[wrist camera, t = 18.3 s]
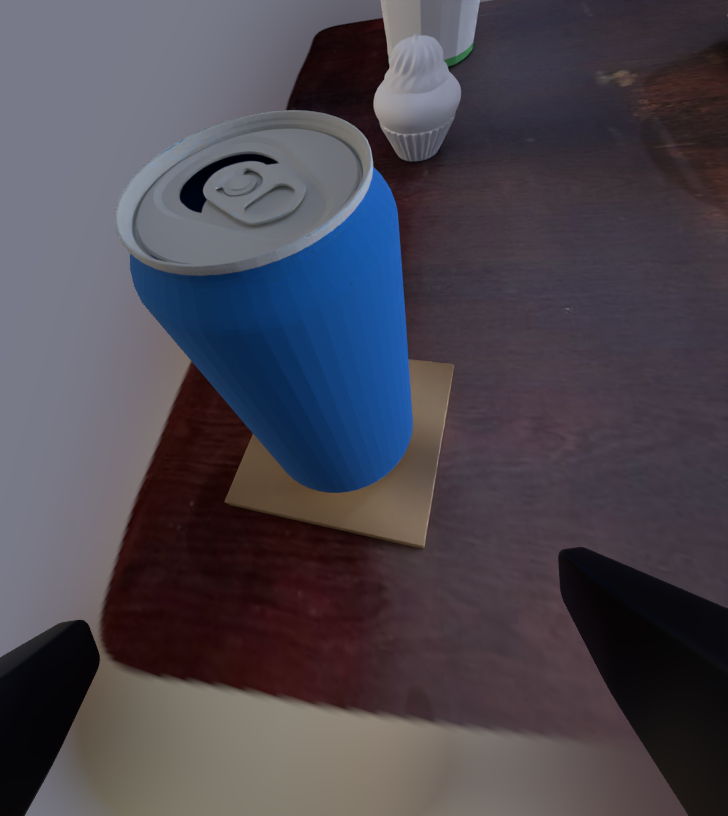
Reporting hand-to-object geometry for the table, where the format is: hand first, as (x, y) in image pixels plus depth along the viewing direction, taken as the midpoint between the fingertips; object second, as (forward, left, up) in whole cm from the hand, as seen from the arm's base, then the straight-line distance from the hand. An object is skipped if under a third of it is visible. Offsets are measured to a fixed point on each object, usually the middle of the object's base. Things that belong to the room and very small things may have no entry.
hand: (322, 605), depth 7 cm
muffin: (+33, +4, -9) cm, 34 cm away
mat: (+8, +3, -9) cm, 12 cm away
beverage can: (+7, +3, -8) cm, 12 cm away
